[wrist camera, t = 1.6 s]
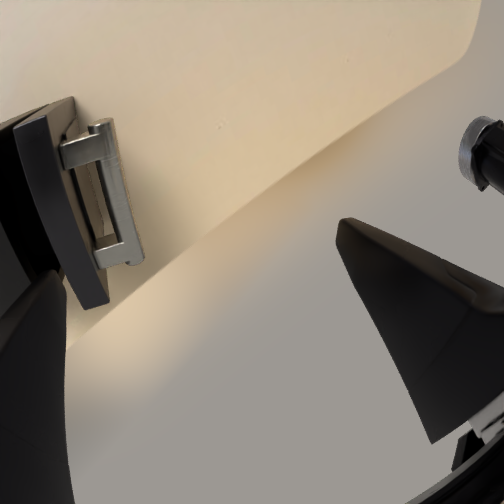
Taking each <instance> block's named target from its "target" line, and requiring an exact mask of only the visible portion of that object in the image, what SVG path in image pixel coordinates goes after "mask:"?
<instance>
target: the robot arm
mask: <svg viewBox="0 0 504 504" xmlns="http://www.w3.org/2000/svg"><path fill="white" fill-rule="evenodd" d="M471 156H472V160H473V164H474V169H475V174H476V179H477V185H478V189H479V190H480V191H481V192H482V191H484V190H485V189H486V188H487V186H488V185H491V186H492V187H494V188H495V189H496V190H498V191H499V192H500V193H502V194H503V195H504V123H503V121H501V120H498V121H497V122H496V123H495V124H494V125H493V126H492V127H491V128H490V130H489V131H488V132H487V133H486V134H485V135H484V136H483V137H482V138H481V139H480V140H479V141H478V142H477V143H476V144H475V145H474V146H473V147H472V149H471ZM336 246H337V249H338V251H339V254H340V256H341V258H342V260H343V262H344V265H345V267H346V269H347V271H348V274H349V276H350V278H351V281H352V283H353V285H354V287H355V289H356V291H357V292H358V294H359V296H360V298H361V299H362V301H363V303H364V305H365V307H366V309H367V311H368V312H369V314H370V316H371V318H372V320H373V322H374V324H375V326H376V327H377V329H378V331H379V333H380V335H381V337H382V339H383V341H384V343H385V345H386V347H387V349H388V351H389V353H390V355H391V357H392V359H393V361H394V363H395V365H396V367H397V369H398V371H399V373H400V375H401V377H402V379H403V382H404V384H405V386H406V388H407V390H408V393H409V395H410V397H411V399H412V401H413V404H414V405H415V408H416V410H417V412H418V415H419V417H420V419H421V422H422V424H423V426H424V428H425V431H426V433H427V436H428V438H429V440H430V442H431V444H433V443H435V442H437V441H438V440H440V439H441V438H443V437H445V436H446V435H448V434H449V433H451V432H452V431H453V430H455V429H456V428H458V427H459V426H461V425H462V424H463V423H465V422H466V421H467V420H468V421H469V423H470V425H471V427H472V429H470V430H469V431H468V432H467V433H465V434H464V435H463V436H461V437H460V438H459V439H458V444H457V448H456V453H455V457H454V461H453V465H452V468H451V470H452V473H451V474H449V475H448V476H447V477H445V478H444V479H442V480H441V481H440V482H438V483H437V484H435V485H434V486H432V487H431V488H429V489H428V490H426V491H425V492H423V493H422V494H420V495H419V496H417V497H415V498H414V499H412V500H410V501H409V502H407V503H405V504H504V288H503V287H501V286H500V285H497V284H495V283H493V282H491V281H489V280H486V279H484V278H482V277H480V276H478V275H476V274H473V273H471V272H469V271H467V270H465V269H463V268H461V267H459V266H457V265H454V264H452V263H450V262H448V261H446V260H444V259H441V258H440V257H438V256H436V255H434V254H432V253H430V252H428V251H426V250H424V249H422V248H420V247H417V246H415V245H413V244H411V243H409V242H406V241H405V240H402V239H400V238H398V237H396V236H394V235H391V234H389V233H387V232H385V231H382V230H380V229H378V228H376V227H373V226H371V225H369V224H366V223H364V222H362V221H359V220H357V219H354V218H344V219H341V220H340V221H339V224H338V230H337V236H336ZM66 302H67V294H66V290H65V287H64V286H63V284H62V282H61V280H60V278H59V276H58V274H57V272H56V271H55V270H53V269H51V270H46V271H43V272H42V273H41V274H40V275H39V276H38V277H37V278H36V279H35V280H34V281H33V282H32V283H31V284H30V285H29V286H28V287H27V288H26V289H25V291H24V292H23V293H22V294H21V295H20V296H19V297H18V298H17V299H16V300H15V302H14V303H13V304H12V305H11V306H10V307H9V308H8V310H7V311H6V312H5V313H4V314H3V315H2V317H1V318H0V504H75V502H74V496H73V490H72V484H71V477H70V470H69V465H68V455H67V444H66V431H65V410H64V409H65V408H64V376H65V352H66Z"/></svg>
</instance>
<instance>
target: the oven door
mask: <svg viewBox="0 0 504 504" xmlns="http://www.w3.org/2000/svg"><path fill="white" fill-rule="evenodd" d="M13 133H14V137H15V141H16V145H17V149H18V153H19V156H20V160H21V163H22V167H23V170H24V173H25V177H26V180H27V183H28V186H29V189H30V192H31V195H32V198H33V200H34V203H35V206H36V209H37V211H38V214H39V216H40V219H41V221H42V224H43V226H44V229H45V231H46V234H47V236H48V238H49V241H50V243H51V245H52V248H53V250H54V252H55V254H56V256H57V258H58V261H59V263H60V265H61V267H62V269H63V271H64V273H65V275H66V277H67V279H68V281H69V283H70V285H71V287H72V289H73V291H74V292H75V294H76V296H77V298H78V300H79V302H80V303H81V305H82V307H83V309H84V310H88V309H91V308H94V307H98V306H101V305H104V304H107V303H109V302H110V300H109V291H108V281H107V270H106V268H108V267H111V266H114V265H117V264H120V263H124V262H125V263H126V264H127V265H131V266H133V265H137V264H139V263H141V262H142V261H143V260H144V258H145V254H144V250H143V247H142V243H141V240H140V236H139V233H138V229H137V225H136V221H135V218H134V214H133V210H132V206H131V202H130V198H129V194H128V189H127V185H126V181H125V176H124V171H123V167H122V162H121V157H120V152H119V147H118V142H117V136H116V131H115V125H114V119H113V118H104V119H100V120H97V121H94V122H92V123H90V124H89V125H88V132H85V133H82V134H80V131H79V126H78V121H77V116H76V111H75V105H74V99H73V96H71V97H68V98H65V99H62V100H59V101H56V102H53V103H51V104H49V105H48V106H46V107H44V108H43V109H41V110H39V111H38V112H36V113H35V114H33V115H32V116H30V117H28V118H27V119H25V120H24V121H22V122H21V123H19V124H18V125H16V126H15V127H14V128H13ZM94 161H95V163H96V168H97V172H98V176H99V180H100V184H101V187H102V191H103V195H104V198H105V202H106V205H107V209H108V212H109V216H110V219H111V222H112V225H113V229H114V232H115V233H113V234H110V235H106V236H104V223H103V220H102V216H101V213H100V210H99V207H98V203H97V200H96V196H95V193H94V189H93V186H92V182H91V178H90V174H89V171H88V167H87V163H91V162H94Z"/></svg>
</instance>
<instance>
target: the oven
mask: <svg viewBox="0 0 504 504" xmlns="http://www.w3.org/2000/svg"><path fill="white" fill-rule="evenodd" d="M48 105H49V104H47V105H44V106H42V107H39V108H36V109H34V110H31V111H29V112H26V113H24V114H21V115H19V116H17V117H14V118H12V119H10V120H7V121H5V122H3V123H1V124H0V318H1V317H2V315H3V314H4V313H5V312H6V311H7V310H8V308H9V307H10V306H11V305H12V304H13V303H14V302H15V300H16V299H17V298H18V297H19V296H20V295H21V294H22V293H23V292H24V291H25V289H26V288H27V287H28V286H29V285H30V284H31V283H32V282H33V281H34V280H35V279H36V278H37V277H38V276H39V275H40V274H41V273H42V272H43V271H46V270H51V269H53V270H55V271H56V272H57V274H58V276H59V278H60V280H61V282H63V279H64V276H65V273H64V271H63V269H62V267H61V265H60V263H59V261H58V258H57V256H56V254H55V252H54V250H53V248H52V245H51V243H50V241H49V238H48V236H47V234H46V231H45V229H44V226H43V224H42V221H41V219H40V216H39V214H38V211H37V209H36V206H35V203H34V200H33V198H32V195H31V192H30V189H29V186H28V183H27V180H26V177H25V173H24V170H23V167H22V163H21V160H20V156H19V153H18V149H17V145H16V141H15V137H14V133H13V128H14V127H15V126H16V125H18V124H19V123H21V122H22V121H24V120H25V119H27V118H28V117H30V116H32V115H33V114H35V113H36V112H38V111H39V110H41V109H43V108H44V107H46V106H48Z"/></svg>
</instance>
